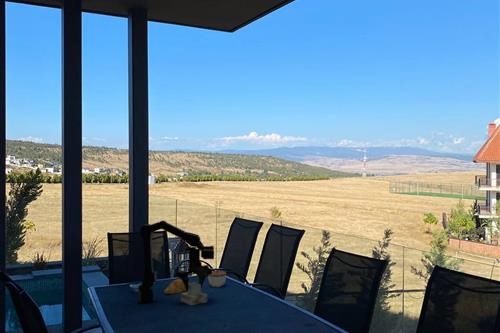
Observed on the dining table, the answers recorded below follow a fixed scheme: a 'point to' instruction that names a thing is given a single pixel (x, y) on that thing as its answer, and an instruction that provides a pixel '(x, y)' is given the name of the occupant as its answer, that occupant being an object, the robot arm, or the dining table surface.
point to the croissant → (176, 287)
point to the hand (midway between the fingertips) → (194, 289)
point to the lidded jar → (217, 278)
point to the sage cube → (194, 289)
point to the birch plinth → (193, 298)
